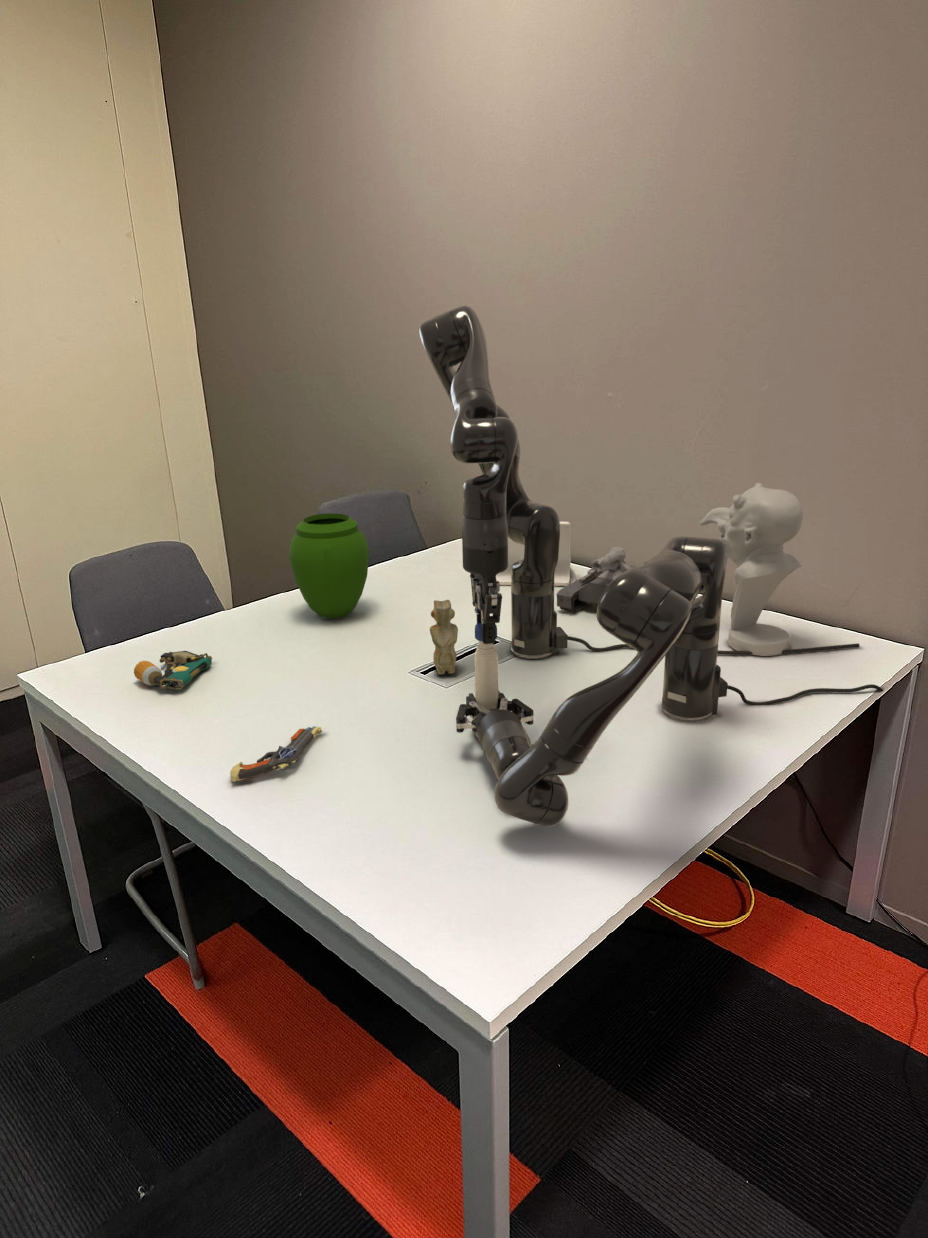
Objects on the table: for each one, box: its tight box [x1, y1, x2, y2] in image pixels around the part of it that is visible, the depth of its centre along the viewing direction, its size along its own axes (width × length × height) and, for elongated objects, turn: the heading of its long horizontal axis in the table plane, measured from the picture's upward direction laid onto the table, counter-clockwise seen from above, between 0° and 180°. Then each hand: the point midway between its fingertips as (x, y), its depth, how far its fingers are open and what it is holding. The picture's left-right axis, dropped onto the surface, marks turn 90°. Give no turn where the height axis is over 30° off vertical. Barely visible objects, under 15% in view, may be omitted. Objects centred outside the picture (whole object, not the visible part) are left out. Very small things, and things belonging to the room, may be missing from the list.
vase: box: [288, 512, 370, 620], centre depth 209 cm, size 20×20×24 cm
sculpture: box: [429, 599, 459, 675], centre depth 177 cm, size 6×7×15 cm
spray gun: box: [133, 650, 213, 690], centre depth 180 cm, size 4×17×15 cm
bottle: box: [473, 641, 500, 738], centre depth 149 cm, size 4×4×20 cm
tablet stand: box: [496, 521, 572, 587], centre depth 236 cm, size 18×25×17 cm
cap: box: [474, 623, 498, 642], centre depth 146 cm, size 4×4×2 cm
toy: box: [556, 546, 637, 613], centre depth 212 cm, size 25×20×15 cm
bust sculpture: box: [699, 482, 804, 657], centre depth 185 cm, size 16×24×35 cm
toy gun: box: [229, 725, 323, 782], centre depth 147 cm, size 3×19×10 cm
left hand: (486, 638), depth 146 cm, fingers closed on cap, 3 cm apart
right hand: (483, 696), depth 153 cm, fingers closed on bottle, 4 cm apart
